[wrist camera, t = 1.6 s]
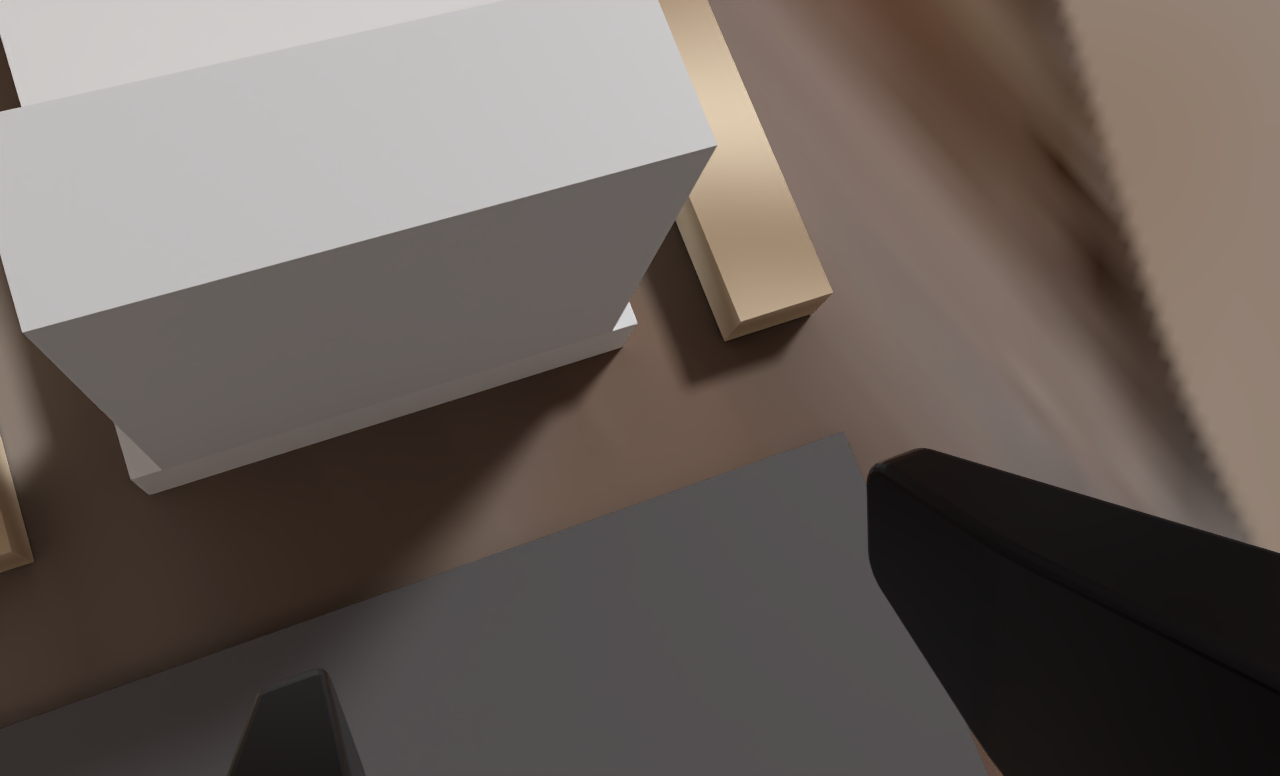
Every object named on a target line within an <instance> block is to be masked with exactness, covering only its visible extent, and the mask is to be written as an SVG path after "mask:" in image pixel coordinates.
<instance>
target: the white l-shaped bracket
mask: <svg viewBox="0 0 1280 776" xmlns="http://www.w3.org/2000/svg"><path fill="white" fill-rule="evenodd" d="M0 35H1V39H2V42H3V46H4V49H5V53H6V56H7V59H8V63H9V66H10V70H11V73H12V76H13V80H14V83H15V87H16V90H17V94H18V97H19V100H20V104H21V107H19V108H15V109H10V110H6V111H1V112H0V255H1V259H2V262H3V266H4V270H5V273H6V277H7V280H8V284H9V287H10V291H11V294H12V298H13V301H14V305H15V309H16V312H17V316H18V319H19V323H20V326H21V330H22V333H23V334H24V335H25V336H26V337H27V338H28V339H29V340H30V341H31V342H32V343H33V344H34V345H35V346H36V347H37V348H38V349H39V350H40V351H42V352H43V353H44V354H45V355H46V356H47V357H48V358H49V359H50V360H51V361H52V362H53V363H54V364H55V365H56V366H57V367H58V368H59V369H60V370H61V371H62V372H63V373H64V374H65V375H66V376H67V377H68V378H69V379H70V380H71V381H72V382H73V383H74V384H75V385H76V386H77V387H78V388H79V389H80V390H81V391H82V392H83V393H84V394H85V395H86V396H87V397H88V398H89V399H90V400H91V401H92V402H93V403H94V404H95V405H96V406H97V407H98V408H99V409H100V410H102V411H103V412H104V413H105V414H106V415H107V416H108V417H109V418H110V419H111V420H112V421H113V422H114V425H115V428H116V432H117V435H118V439H119V442H120V445H121V449H122V452H123V456H124V459H125V462H126V466H127V469H128V473H129V476H130V480H131V481H133V482H134V483H135V484H136V485H137V486H139V487H140V488H141V489H142V490H143V491H145V492H146V493H147V494H148V495H152V494H155V493H158V492H162V491H165V490H168V489H171V488H174V487H177V486H181V485H184V484H187V483H190V482H193V481H197V480H200V479H203V478H206V477H209V476H213V475H216V474H219V473H222V472H225V471H229V470H232V469H235V468H238V467H241V466H245V465H248V464H251V463H254V462H257V461H261V460H264V459H267V458H270V457H273V456H276V455H280V454H283V453H286V452H289V451H292V450H296V449H299V448H302V447H305V446H308V445H312V444H315V443H318V442H321V441H324V440H328V439H331V438H334V437H337V436H340V435H344V434H347V433H350V432H353V431H356V430H360V429H363V428H366V427H369V426H372V425H376V424H379V423H382V422H385V421H388V420H391V419H395V418H398V417H401V416H404V415H407V414H411V413H414V412H417V411H420V410H423V409H427V408H430V407H433V406H436V405H439V404H443V403H446V402H449V401H452V400H455V399H459V398H462V397H465V396H468V395H471V394H475V393H478V392H481V391H484V390H487V389H490V388H494V387H497V386H500V385H503V384H506V383H510V382H513V381H516V380H519V379H522V378H526V377H529V376H532V375H535V374H538V373H542V372H545V371H548V370H551V369H554V368H558V367H561V366H564V365H567V364H570V363H574V362H577V361H580V360H583V359H586V358H589V357H593V356H596V355H599V354H602V353H605V352H609V351H612V350H615V349H618V348H621V347H623V346H624V344H625V343H626V341H627V340H628V338H629V336H630V335H631V333H632V332H633V330H634V328H635V327H636V325H637V321H636V318H635V316H634V313H633V310H632V308H631V305H630V302H629V301H630V299H631V297H632V296H633V294H634V292H635V290H636V288H637V287H638V285H639V283H640V281H641V280H642V278H643V276H644V274H645V273H646V271H647V269H648V267H649V265H650V264H651V262H652V260H653V258H654V257H655V255H656V253H657V251H658V250H659V248H660V246H661V244H662V243H663V241H664V239H665V237H666V235H667V234H668V232H669V230H670V228H671V227H672V225H673V223H674V221H675V220H676V218H677V216H678V214H679V212H680V211H681V209H682V207H683V205H684V204H685V202H686V200H687V198H688V197H689V195H690V193H691V191H692V189H693V188H694V186H695V184H696V182H697V181H698V179H699V177H700V175H701V174H702V172H703V170H704V168H705V166H706V165H707V163H708V161H709V159H710V158H711V156H712V154H713V152H714V151H715V149H716V147H717V143H716V140H715V138H714V135H713V133H712V130H711V128H710V126H709V123H708V121H707V118H706V116H705V113H704V111H703V108H702V106H701V104H700V101H699V99H698V96H697V94H696V91H695V89H694V86H693V84H692V82H691V79H690V77H689V74H688V72H687V69H686V67H685V64H684V62H683V60H682V57H681V55H680V52H679V50H678V47H677V45H676V43H675V40H674V38H673V35H672V33H671V30H670V28H669V25H668V23H667V21H666V18H665V16H664V13H663V11H662V8H661V6H660V3H659V1H658V0H0Z"/></svg>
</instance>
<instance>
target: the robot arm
mask: <svg viewBox="0 0 1280 776" xmlns="http://www.w3.org/2000/svg"><path fill="white" fill-rule="evenodd" d="M866 491H867V532H868V556H869V562H870V566H871V569H872V572H873V575H874V577H875V580H876V582H877V584H878V586H879V587H880V589H881V591H882V592H883V594H884V595H885V597H886V599H887V600H888V602H889V603H890V605H891V606H892V608H893V609H894V611H895V613H896V614H897V616H898V617H899V619H900V620H901V622H902V624H903V625H904V627H905V628H906V630H907V631H908V633H909V634H910V636H911V638H912V639H913V641H914V642H915V644H916V645H917V647H918V648H919V650H920V652H921V653H922V655H923V656H924V658H925V659H926V661H927V663H928V664H929V666H930V667H931V669H932V670H933V672H934V673H935V675H936V677H937V678H938V680H939V681H940V683H941V684H942V686H943V688H944V689H945V691H946V692H947V694H948V695H949V697H950V698H951V700H952V702H953V703H954V705H955V706H956V708H957V709H958V711H959V713H960V714H961V716H962V717H963V719H964V720H965V722H966V723H967V725H968V727H969V728H970V730H971V731H972V733H973V734H974V736H975V737H976V738H977V740H978V741H979V743H980V744H981V746H982V747H983V749H984V750H985V752H986V753H987V755H988V756H989V757H990V759H991V760H992V761H993V763H994V764H995V765H996V767H997V768H998V769H999V771H1000V772H1001V773H1002V774H1003V776H1280V553H1278V552H1274V551H1271V550H1268V549H1264V548H1261V547H1258V546H1254V545H1251V544H1247V543H1244V542H1241V541H1237V540H1234V539H1231V538H1227V537H1224V536H1221V535H1217V534H1214V533H1211V532H1207V531H1204V530H1200V529H1197V528H1194V527H1190V526H1187V525H1184V524H1180V523H1177V522H1174V521H1170V520H1167V519H1164V518H1160V517H1157V516H1153V515H1150V514H1147V513H1143V512H1140V511H1137V510H1133V509H1130V508H1127V507H1123V506H1120V505H1117V504H1113V503H1110V502H1106V501H1103V500H1100V499H1096V498H1093V497H1090V496H1086V495H1083V494H1080V493H1076V492H1073V491H1070V490H1066V489H1063V488H1059V487H1056V486H1053V485H1049V484H1046V483H1043V482H1039V481H1036V480H1033V479H1029V478H1026V477H1022V476H1019V475H1016V474H1012V473H1009V472H1006V471H1002V470H999V469H996V468H992V467H989V466H986V465H982V464H979V463H975V462H972V461H969V460H965V459H962V458H959V457H955V456H952V455H949V454H945V453H942V452H939V451H935V450H931V449H927V448H917V449H913V450H910V451H907V452H904V453H902V454H899V455H896V456H894V457H891V458H888V459H885V460H883V461H880V462H878V463H876V464H875V465H874V466H873V467H872V468H871V469H870V471H869V473H868V476H867V485H866ZM227 776H366V775H365V771H364V768H363V765H362V762H361V759H360V757H359V754H358V751H357V748H356V745H355V743H354V740H353V737H352V734H351V732H350V729H349V726H348V724H347V721H346V718H345V715H344V713H343V710H342V707H341V704H340V702H339V699H338V696H337V693H336V691H335V688H334V685H333V682H332V680H331V678H330V676H329V674H328V672H327V671H325V670H324V669H322V668H313V669H310V670H307V671H305V672H302V673H299V674H296V675H294V676H291V677H288V678H285V679H283V680H280V681H277V682H274V683H272V684H269V685H267V686H265V687H264V688H262V689H261V690H260V691H259V693H258V694H257V696H256V698H255V700H254V703H253V705H252V708H251V711H250V714H249V716H248V719H247V722H246V725H245V727H244V730H243V733H242V735H241V738H240V741H239V744H238V746H237V749H236V752H235V755H234V757H233V760H232V763H231V765H230V768H229V771H228V774H227Z"/></svg>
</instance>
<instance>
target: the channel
mask: <svg viewBox="0 0 1280 776" xmlns="http://www.w3.org/2000/svg"><path fill="white" fill-rule="evenodd" d="M658 1H659V3H660V6H661V8H662V11H663V13H664V16H665V18H666V21H667V23H668V25H669V28H670V30H671V33H672V35H673V38H674V40H675V43H676V45H677V47H678V50H679V52H680V55H681V57H682V60H683V62H684V64H685V67H686V69H687V72H688V74H689V77H690V79H691V82H692V84H693V86H694V89H695V91H696V94H697V96H698V99H699V101H700V104H701V106H702V108H703V111H704V113H705V116H706V118H707V121H708V123H709V126H710V128H711V130H712V133H713V135H714V138H715V140H716V143H717V147H716V149H715V151H714V152H713V154H712V156H711V158H710V159H709V161H708V163H707V165H706V166H705V168H704V170H703V172H702V174H701V175H700V177H699V179H698V181H697V182H696V184H695V186H694V188H693V189H692V191H691V193H690V195H689V197H688V198H687V200H686V202H685V204H684V205H683V207H682V209H681V211H680V212H679V214H678V216H677V218H676V220H675V221H676V223H677V226H678V228H679V231H680V233H681V236H682V238H683V241H684V243H685V245H686V248H687V250H688V253H689V255H690V258H691V260H692V263H693V265H694V268H695V270H696V273H697V275H698V278H699V280H700V282H701V285H702V287H703V290H704V292H705V295H706V297H707V300H708V302H709V305H710V307H711V310H712V312H713V314H714V317H715V319H716V322H717V324H718V327H719V329H720V332H721V334H722V337H723V339H724V342H725V341H728V340H731V339H734V338H737V337H740V336H744V335H747V334H750V333H753V332H756V331H759V330H762V329H765V328H769V327H772V326H775V325H778V324H781V323H784V322H787V321H791V320H794V319H797V318H800V317H803V316H806V315H809V314H812V313H814V312H815V311H816V310H817V309H818V308H819V306H820V305H821V304H822V303H823V302H824V301H825V300H826V299H827V298H828V297H829V296H830V295H831V294H832V293H833V291H832V289H831V287H830V284H829V282H828V280H827V278H826V275H825V273H824V271H823V268H822V266H821V264H820V261H819V259H818V257H817V254H816V252H815V250H814V247H813V245H812V243H811V240H810V238H809V236H808V233H807V231H806V229H805V226H804V224H803V222H802V219H801V217H800V215H799V212H798V210H797V208H796V205H795V203H794V201H793V198H792V196H791V194H790V191H789V189H788V187H787V184H786V182H785V180H784V178H783V175H782V173H781V171H780V168H779V166H778V164H777V161H776V159H775V157H774V154H773V152H772V150H771V147H770V145H769V143H768V140H767V138H766V136H765V133H764V131H763V129H762V126H761V124H760V122H759V119H758V117H757V115H756V112H755V110H754V108H753V105H752V103H751V101H750V98H749V96H748V94H747V91H746V89H745V87H744V84H743V82H742V80H741V78H740V75H739V73H738V71H737V68H736V66H735V64H734V61H733V59H732V57H731V54H730V52H729V50H728V47H727V45H726V43H725V40H724V38H723V36H722V33H721V31H720V29H719V26H718V24H717V22H716V19H715V17H714V15H713V12H712V10H711V8H710V5H709V3H708V1H707V0H658ZM32 562H34V559H33V555H32V551H31V548H30V544H29V540H28V536H27V533H26V529H25V525H24V521H23V518H22V514H21V510H20V506H19V503H18V499H17V495H16V491H15V488H14V484H13V480H12V476H11V473H10V469H9V465H8V461H7V458H6V454H5V450H4V446H3V443H2V439H1V435H0V573H1V572H4V571H7V570H10V569H14V568H17V567H20V566H23V565H26V564H29V563H32Z"/></svg>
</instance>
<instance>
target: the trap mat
mask: <svg viewBox="0 0 1280 776" xmlns="http://www.w3.org/2000/svg"><path fill="white" fill-rule="evenodd" d="M313 668H322V669H324V670H325V671H327V672H328V674H329V676H330V678H331V680H332V682H333V685H334V688H335V691H336V693H337V696H338V699H339V702H340V704H341V707H342V710H343V713H344V715H345V718H346V721H347V724H348V726H349V729H350V732H351V734H352V737H353V740H354V743H355V745H356V748H357V751H358V754H359V757H360V759H361V762H362V765H363V768H364V771H365V775H366V776H988V773H987V771H986V769H985V766H984V764H983V762H982V759H981V757H980V754H979V752H978V750H977V747H976V745H975V743H974V740H973V738H972V735H971V733H970V731H969V728H968V726H967V724H966V722H965V720H964V719H963V717H962V716H961V714H960V713H959V711H958V709H957V708H956V706H955V705H954V703H953V702H952V700H951V698H950V697H949V695H948V694H947V692H946V691H945V689H944V688H943V686H942V684H941V683H940V681H939V680H938V678H937V677H936V675H935V673H934V672H933V670H932V669H931V667H930V666H929V664H928V663H927V661H926V659H925V658H924V656H923V655H922V653H921V652H920V650H919V648H918V647H917V645H916V644H915V642H914V641H913V639H912V638H911V636H910V634H909V633H908V631H907V630H906V628H905V627H904V625H903V624H902V622H901V620H900V619H899V617H898V616H897V614H896V613H895V611H894V609H893V608H892V606H891V605H890V603H889V602H888V600H887V599H886V597H885V595H884V594H883V592H882V591H881V589H880V587H879V586H878V584H877V582H876V580H875V577H874V575H873V572H872V569H871V566H870V562H869V556H868V532H867V491H866V484H865V481H864V479H863V477H862V474H861V472H860V469H859V467H858V465H857V462H856V460H855V458H854V455H853V453H852V450H851V448H850V446H849V443H848V441H847V439H846V436H845V434H844V431H843V432H840V433H837V434H835V435H832V436H829V437H826V438H823V439H820V440H818V441H815V442H812V443H809V444H806V445H803V446H800V447H798V448H795V449H792V450H789V451H786V452H783V453H781V454H778V455H775V456H772V457H769V458H766V459H764V460H761V461H758V462H755V463H752V464H749V465H747V466H744V467H741V468H738V469H735V470H732V471H730V472H727V473H724V474H721V475H718V476H715V477H713V478H710V479H707V480H704V481H701V482H698V483H696V484H693V485H690V486H687V487H684V488H681V489H679V490H676V491H673V492H670V493H667V494H664V495H662V496H659V497H656V498H653V499H650V500H647V501H645V502H642V503H639V504H636V505H633V506H630V507H627V508H625V509H622V510H619V511H616V512H613V513H610V514H608V515H605V516H602V517H599V518H596V519H593V520H591V521H588V522H585V523H582V524H579V525H576V526H574V527H571V528H568V529H565V530H562V531H559V532H557V533H554V534H551V535H548V536H545V537H542V538H540V539H537V540H534V541H531V542H528V543H525V544H523V545H520V546H517V547H514V548H511V549H508V550H506V551H503V552H500V553H497V554H494V555H491V556H489V557H486V558H483V559H480V560H477V561H474V562H471V563H469V564H466V565H463V566H460V567H457V568H454V569H452V570H449V571H446V572H443V573H440V574H437V575H435V576H432V577H429V578H426V579H423V580H420V581H418V582H415V583H412V584H409V585H406V586H403V587H401V588H398V589H395V590H392V591H389V592H386V593H384V594H381V595H378V596H375V597H372V598H369V599H367V600H364V601H361V602H358V603H355V604H352V605H350V606H347V607H344V608H341V609H338V610H335V611H333V612H330V613H327V614H324V615H321V616H318V617H316V618H313V619H310V620H307V621H304V622H301V623H298V624H296V625H293V626H290V627H287V628H284V629H281V630H279V631H276V632H273V633H270V634H267V635H264V636H262V637H259V638H256V639H253V640H250V641H247V642H245V643H242V644H239V645H236V646H233V647H230V648H228V649H225V650H222V651H219V652H216V653H213V654H211V655H208V656H205V657H202V658H199V659H196V660H194V661H191V662H188V663H185V664H182V665H179V666H177V667H174V668H171V669H168V670H165V671H162V672H160V673H157V674H154V675H151V676H148V677H145V678H142V679H140V680H137V681H134V682H131V683H128V684H125V685H123V686H120V687H117V688H114V689H111V690H108V691H106V692H103V693H100V694H97V695H94V696H91V697H89V698H86V699H83V700H80V701H77V702H74V703H72V704H69V705H66V706H63V707H60V708H57V709H55V710H52V711H49V712H46V713H43V714H40V715H38V716H35V717H32V718H29V719H26V720H23V721H21V722H18V723H15V724H12V725H9V726H6V727H4V728H1V729H0V776H227V774H228V771H229V768H230V765H231V763H232V760H233V757H234V755H235V752H236V749H237V746H238V744H239V741H240V738H241V735H242V733H243V730H244V727H245V725H246V722H247V719H248V716H249V714H250V711H251V708H252V705H253V703H254V700H255V698H256V696H257V694H258V693H259V691H260V690H261V689H262V688H264V687H265V686H267V685H269V684H272V683H274V682H277V681H280V680H283V679H285V678H288V677H291V676H294V675H296V674H299V673H302V672H305V671H307V670H310V669H313Z"/></svg>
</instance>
